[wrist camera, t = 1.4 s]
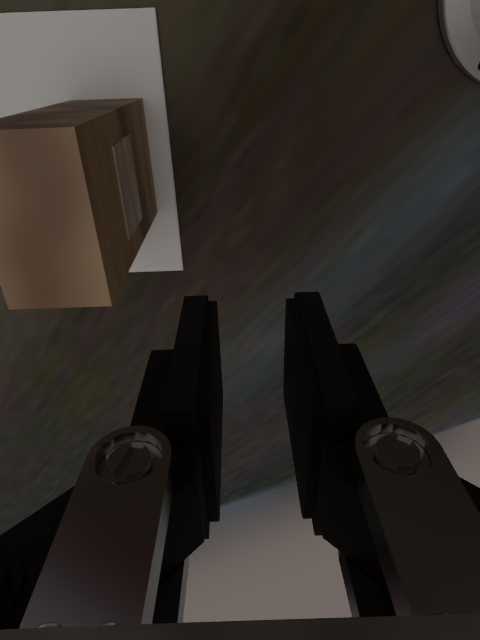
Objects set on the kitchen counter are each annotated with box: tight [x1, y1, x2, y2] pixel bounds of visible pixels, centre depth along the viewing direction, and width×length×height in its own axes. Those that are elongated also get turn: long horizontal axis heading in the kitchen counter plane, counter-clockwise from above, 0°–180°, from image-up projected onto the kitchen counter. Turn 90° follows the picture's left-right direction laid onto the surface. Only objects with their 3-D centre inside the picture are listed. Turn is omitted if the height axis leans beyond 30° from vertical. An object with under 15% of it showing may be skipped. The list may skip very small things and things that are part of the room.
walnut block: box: [0, 98, 158, 310], centre depth 25 cm, size 5×8×15 cm, turn 2°
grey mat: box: [0, 8, 183, 272], centre depth 32 cm, size 24×18×1 cm
